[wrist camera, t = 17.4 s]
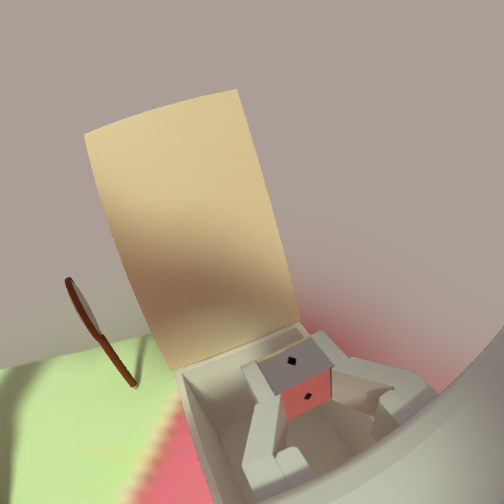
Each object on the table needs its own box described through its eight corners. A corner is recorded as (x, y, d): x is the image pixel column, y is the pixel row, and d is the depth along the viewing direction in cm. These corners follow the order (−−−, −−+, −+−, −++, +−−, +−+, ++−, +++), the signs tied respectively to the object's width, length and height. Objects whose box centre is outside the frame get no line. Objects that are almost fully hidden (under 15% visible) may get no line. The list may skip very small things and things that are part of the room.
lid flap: (83, 134, 20) (85, 136, 20) (171, 371, 25) (171, 367, 26) (236, 89, 23) (235, 91, 23) (301, 319, 28) (298, 317, 29)
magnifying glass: (123, 374, 41) (59, 271, 32) (131, 369, 42) (69, 265, 33) (142, 408, 35) (64, 297, 25) (152, 402, 36) (77, 290, 26)
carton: (274, 567, 14) (246, 575, 8) (212, 427, 31) (174, 370, 25) (396, 508, 17) (434, 479, 11) (307, 387, 34) (298, 321, 28)
